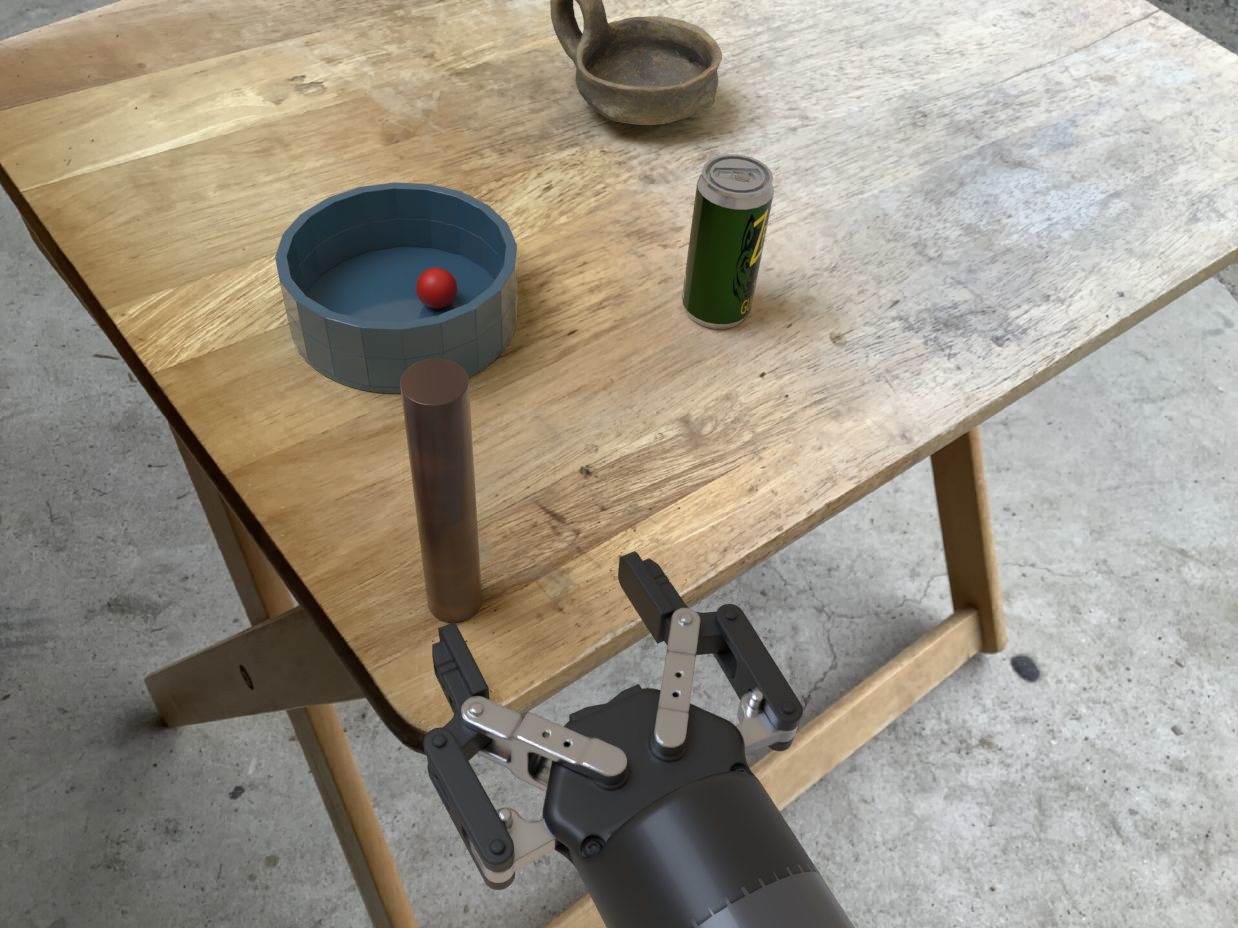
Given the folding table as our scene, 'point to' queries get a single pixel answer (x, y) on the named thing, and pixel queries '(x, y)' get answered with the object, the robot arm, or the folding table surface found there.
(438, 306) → the cherry
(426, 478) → the brown wooden rod
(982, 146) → the folding table surface
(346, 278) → the mixing bowl
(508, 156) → the folding table surface
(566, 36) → the bowl
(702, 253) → the beer can
